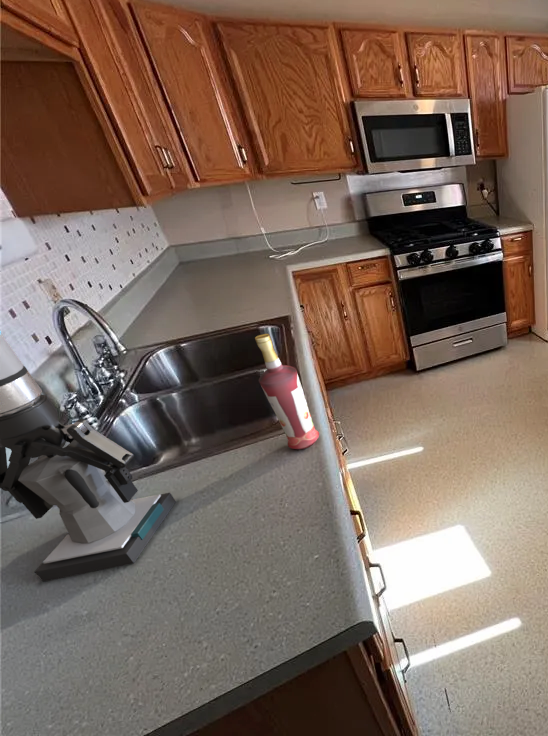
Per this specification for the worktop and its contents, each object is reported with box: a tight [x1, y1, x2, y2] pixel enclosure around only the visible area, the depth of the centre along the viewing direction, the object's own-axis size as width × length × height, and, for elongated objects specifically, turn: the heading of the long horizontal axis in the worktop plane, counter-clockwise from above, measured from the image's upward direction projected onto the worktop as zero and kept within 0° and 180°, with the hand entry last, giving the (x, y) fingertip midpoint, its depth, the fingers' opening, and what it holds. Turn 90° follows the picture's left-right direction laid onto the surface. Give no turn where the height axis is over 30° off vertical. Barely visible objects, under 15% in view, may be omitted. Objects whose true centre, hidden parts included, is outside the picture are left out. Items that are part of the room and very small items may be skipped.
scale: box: [33, 492, 177, 582], centre depth 76 cm, size 14×14×3 cm
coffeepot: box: [18, 446, 135, 543], centre depth 71 cm, size 15×9×18 cm, turn 59°
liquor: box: [254, 333, 320, 450], centre depth 91 cm, size 7×7×28 cm
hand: (88, 504), depth 73 cm, fingers open, 13 cm apart
